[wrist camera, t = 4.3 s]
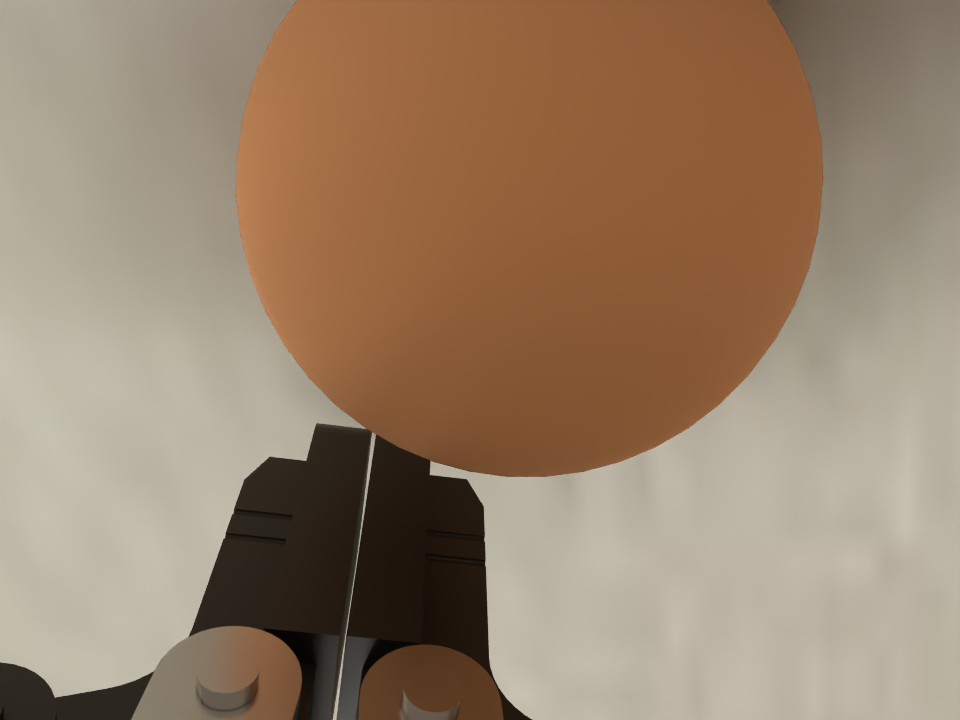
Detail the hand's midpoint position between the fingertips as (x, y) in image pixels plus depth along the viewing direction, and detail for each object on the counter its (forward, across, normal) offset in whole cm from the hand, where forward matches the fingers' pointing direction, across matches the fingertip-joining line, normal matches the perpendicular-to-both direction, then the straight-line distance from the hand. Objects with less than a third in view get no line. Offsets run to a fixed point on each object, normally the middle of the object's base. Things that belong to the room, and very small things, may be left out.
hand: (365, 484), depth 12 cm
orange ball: (-1, -1, -5) cm, 5 cm away
